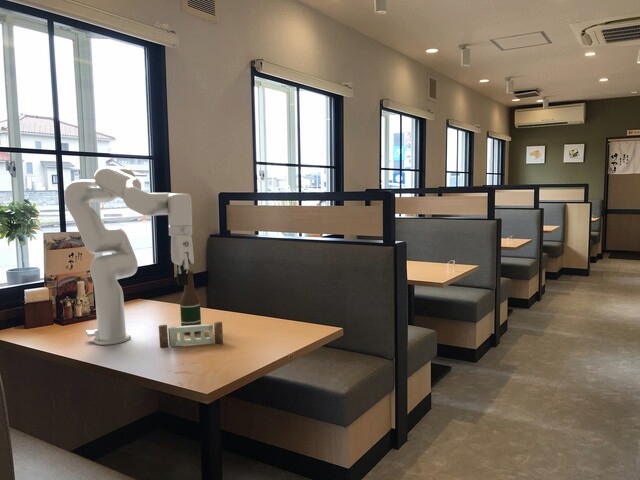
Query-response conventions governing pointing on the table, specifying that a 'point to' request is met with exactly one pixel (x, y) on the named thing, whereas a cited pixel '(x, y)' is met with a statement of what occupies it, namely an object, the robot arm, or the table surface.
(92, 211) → the robot arm
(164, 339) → the gate posts
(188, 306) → the beer bottle
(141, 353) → the table surface
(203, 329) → the gate
